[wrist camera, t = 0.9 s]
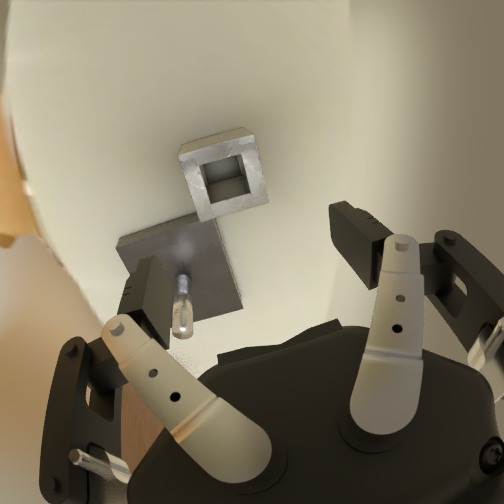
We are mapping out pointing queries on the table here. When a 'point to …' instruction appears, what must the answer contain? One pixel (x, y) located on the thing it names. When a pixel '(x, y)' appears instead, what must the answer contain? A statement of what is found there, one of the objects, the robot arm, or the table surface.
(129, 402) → the wooden block
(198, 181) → the collar
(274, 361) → the robot arm
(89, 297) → the table surface
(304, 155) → the table surface
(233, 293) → the shaft block
